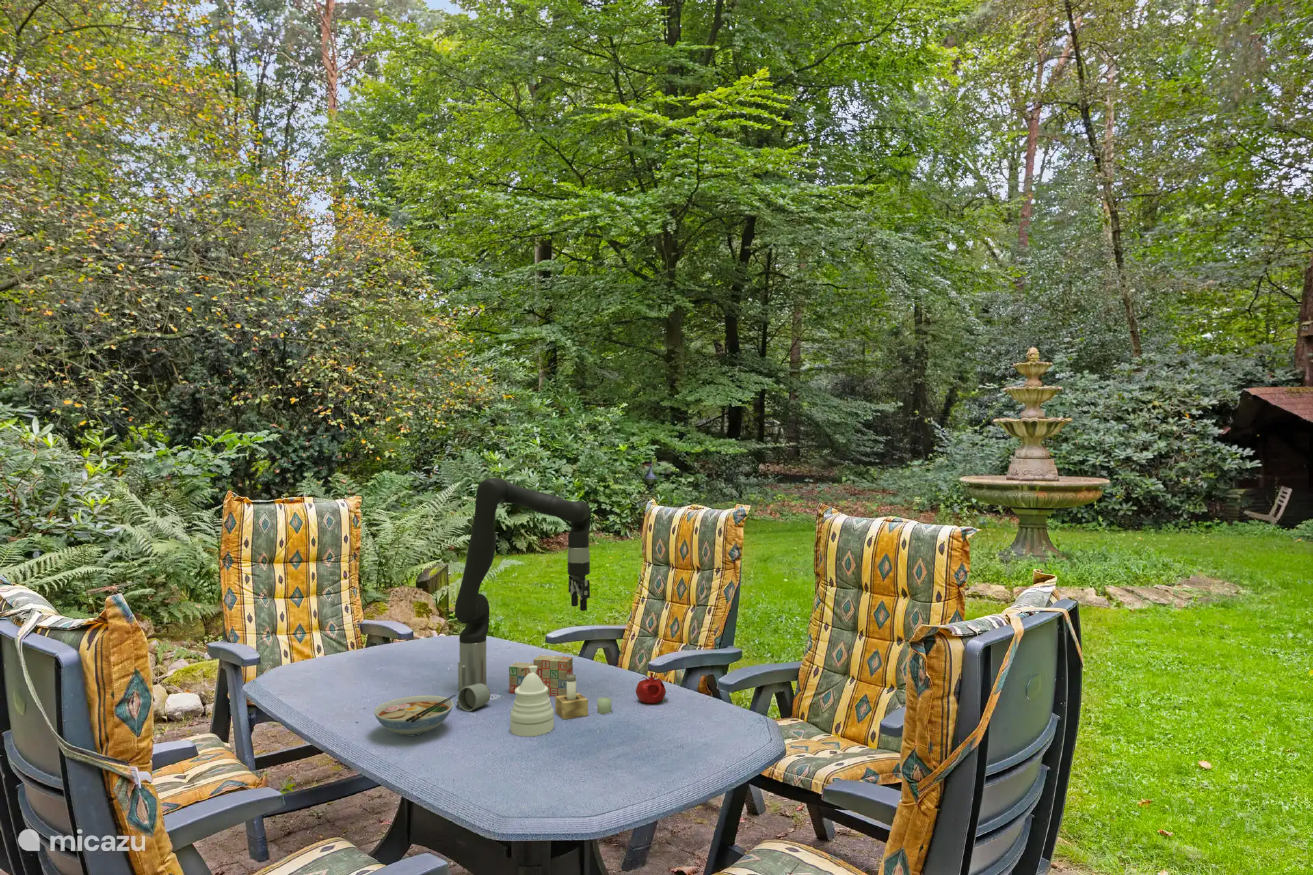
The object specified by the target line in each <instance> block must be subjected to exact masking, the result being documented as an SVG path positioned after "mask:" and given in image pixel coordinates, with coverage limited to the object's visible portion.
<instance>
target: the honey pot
mask: <svg viewBox="0 0 1313 875" xmlns="http://www.w3.org/2000/svg"><path fill="white" fill-rule="evenodd" d="M529 670H530V672H531V673H529V674H528V675H527V676H526V677H525V678H524V680H523V681H522V683H521V685H520V686H519V687H517V688H516V689H515V693H514V694H515V695H516V696H515V699H514V701H513V705H512V708H511V711H510V727H509V728H510V729H509V730H510V732H511V733H512V734H513V735H516V736H519V737H538V735H539V736H542V735H541V734H543V735H546V734H548V733H547V732H549V733H551V732H552V731H553V730H554V729H553V728H555V727H554V726H555V723H554V722H555V721H554V719H555V715H554V711H555V710H554V707H552V702H551V697H550V696H548V694H547V692H548V687H547V686H545V685H544V684H543V682H542V680H541V679H540V677H539V676H538V675H537V674H535V672H536V671H537V666H529ZM552 729H553V730H552ZM551 730H552V731H551ZM550 731H551V732H550ZM545 733H546V734H545Z"/></svg>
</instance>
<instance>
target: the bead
mask: <svg viewBox="0 0 1313 875" xmlns="http://www.w3.org/2000/svg"><path fill="white" fill-rule="evenodd" d="M596 705H597V710H596V711H597V714H599V713H600V714H599V715H607V714H606V713H609V712H611V713H612V698H611V697H608V696H607V697H606V696H603V697H598V698H597V704H596ZM609 714H610V713H609Z"/></svg>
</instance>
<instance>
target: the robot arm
mask: <svg viewBox="0 0 1313 875" xmlns="http://www.w3.org/2000/svg"><path fill="white" fill-rule="evenodd" d="M499 504H514V505H516V506H517V505H518V506H522V507H524V508H527V509H528V510H531V511H533V512H536V513H539V514H542V515H546V516H551V517H555V518H558V519H560V520H562V521H567V522H569V523H571V527H570V530H569V532H568V534H567V535H568V536H567V539H568V540H567V546H568V548H567V574H568V588H567V589H568V593H570V597H571V598H570V603H571V607H572V608H573V607H578V606H579V610H580V611H581V612H585V611H587V610H588V599H590V598H591V590H590V586H591V585H590V584H591V583H590V579H587V578H586V576H588V575H590V573H591V557H590V556H591V554H590V537H589V536H590V535H589V533H590V529H591V528H590V527H591V519H592V510H591V507H590V505H589V504H588V502H586V501H583V500H579V501H572V500H568V499H564V498H562V497H561V496H558V495H554V494H550V493H545V492H540V491H537V490H533V489H528V488H525V487H521V486H519V485H517V484H514V483H512V482H510V481H507V480H505V479H503V478H500V477H492V478H487V479H486V478H485V479H484V480H482V481H481V482H480V483H479V485H478V486H477V490H476V494H475V505H474V506H475V508H474V509H475V510H474V517H473V523H472V526H471V532H470V539H469V541H468V548H467V552H466V559H465V564H464V569H463V574H462V579H461V584H460V587H459V591H458V593H457V598H456V601H455V604H454V615H455V618H456V619H457V621H458V622H459V623H461V624H465V626H464V628H463V630H462V631H461V632H460V633H459V635H458V636H459V641H458V642H459V661H458V662H457V678H458V679H457V682H458V683H457V690H458V691H459V692H460V691H461V689H462V688H464V687H467V686H471V685H475V684H485V685H486V686H487V687H488V684H487V683H488V682H487V675H488V674H487V635H488V632H489V628H490V604H489V600H488V598H487V597H486V596H485V594H482V593H479V592H480V588H481V585H482V582H483V580H484V579H485V577H486V575H487V574H488V572H489V570H490V568H491V567H492V564H493V562H494V558H495V552H496V549H497V548H496V547H497V534H496V530H495V518H496V514H497V509H498V506H499Z"/></svg>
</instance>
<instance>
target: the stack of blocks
mask: <svg viewBox="0 0 1313 875" xmlns="http://www.w3.org/2000/svg"><path fill="white" fill-rule="evenodd" d="M573 659H574V658H573V657H571V656H564V655H545V654H544V655H543V654H539V655H537V656H536V657H534V659H533V662H521V661H520V662H518V661H517V662H514V663H513V664H511V665H509V666H508V673H509V674H508V676H509V678H508V680H509V681H508V686H509V690H508V691H509V694H516V693H515V689H516V688H517V687H519V686H520V685H521V683H522V681H523V680H524V678H525V677H526V676H527V675H528V674H529V673H531V672H530V670H529V666H537V671H536V672H535V674H537V675H538V676H539V677H540V679H541V680H542V682H543V684H544V685H545V686H547V687H548V692H547V694H548V695H549V697H555V696H561V695H567V675H571V674H573V675H574V670H573V668H574V665H573V663H574V661H573Z"/></svg>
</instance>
